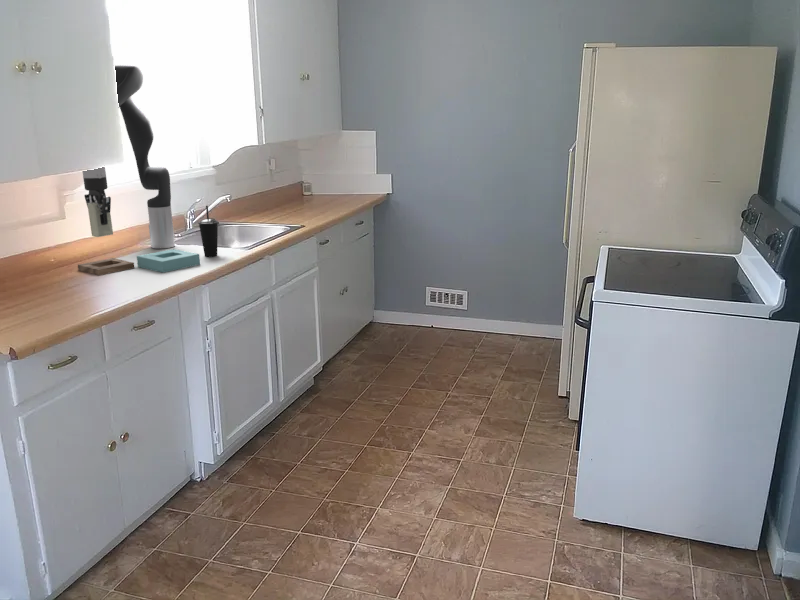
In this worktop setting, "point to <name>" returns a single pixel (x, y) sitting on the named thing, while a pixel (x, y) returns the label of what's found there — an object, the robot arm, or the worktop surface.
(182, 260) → the socket block
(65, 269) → the worktop surface
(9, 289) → the worktop surface
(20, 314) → the worktop surface
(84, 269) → the frame
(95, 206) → the skincare box
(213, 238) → the drinking cup
